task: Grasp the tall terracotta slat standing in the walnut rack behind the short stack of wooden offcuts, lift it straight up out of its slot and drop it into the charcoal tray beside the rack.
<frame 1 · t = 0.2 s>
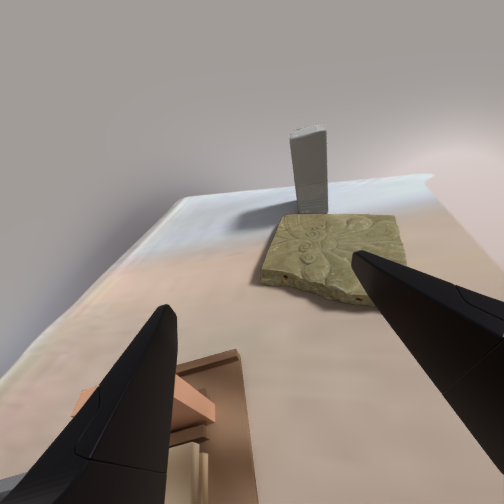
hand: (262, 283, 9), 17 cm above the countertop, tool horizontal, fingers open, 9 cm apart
slat: (185, 421, 19), point 1 cm above the countertop, touching rack
rack: (186, 466, 17), on the countertop
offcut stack: (184, 493, 16), resting on rack
skincare box: (311, 206, 46), on the countertop
decorative tile: (329, 258, 33), on the countertop
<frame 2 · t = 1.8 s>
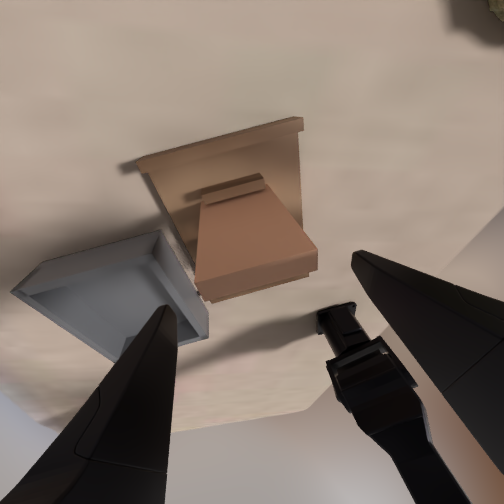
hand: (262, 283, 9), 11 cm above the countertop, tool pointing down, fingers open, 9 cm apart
tray: (140, 291, 23), on the countertop
slat: (236, 200, 18), point 1 cm above the countertop, touching rack
rack: (242, 224, 20), on the countertop
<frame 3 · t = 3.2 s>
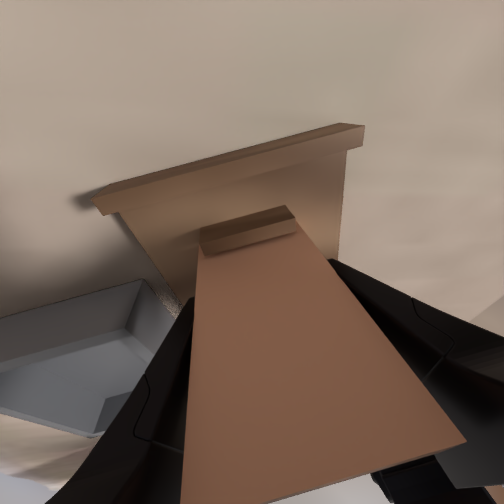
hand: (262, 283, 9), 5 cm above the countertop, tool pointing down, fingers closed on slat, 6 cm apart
tray: (121, 348, 18), on the countertop
slat: (249, 241, 12), point 1 cm above the countertop, touching gripper, rack
rack: (256, 267, 15), on the countertop
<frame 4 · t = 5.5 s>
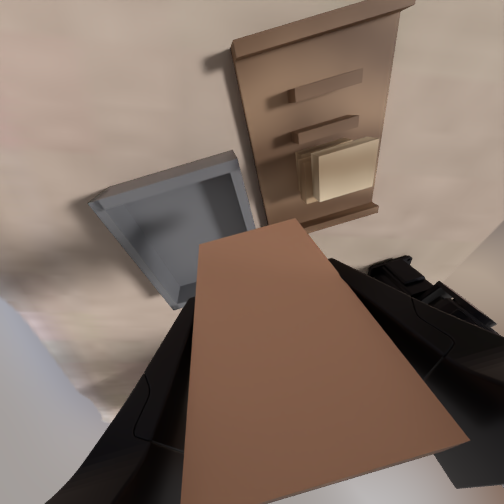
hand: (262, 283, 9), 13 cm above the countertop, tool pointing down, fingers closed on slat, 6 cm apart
tray: (200, 231, 22), on the countertop
slat: (249, 240, 12), point 9 cm above the countertop, touching gripper
rack: (315, 147, 19), on the countertop
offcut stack: (316, 163, 20), resting on rack
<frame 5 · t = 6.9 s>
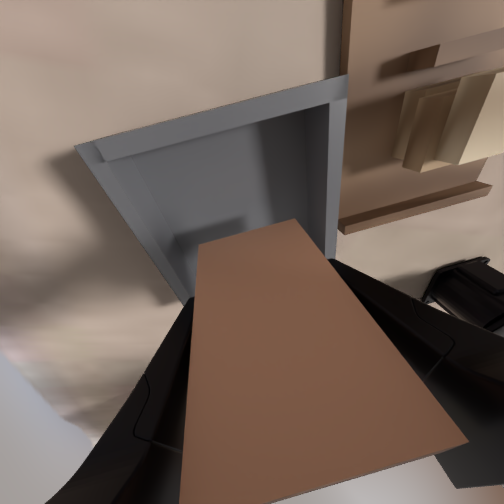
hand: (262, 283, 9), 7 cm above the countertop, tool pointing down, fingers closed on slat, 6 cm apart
tray: (240, 215, 15), on the countertop
slat: (249, 240, 12), point 4 cm above the countertop, touching gripper
rack: (428, 89, 12), on the countertop
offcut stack: (421, 117, 13), resting on rack
when the fingers open (6 cm above the countertop, at t = 8.0 s): slat drops 1 cm, resting on tray.
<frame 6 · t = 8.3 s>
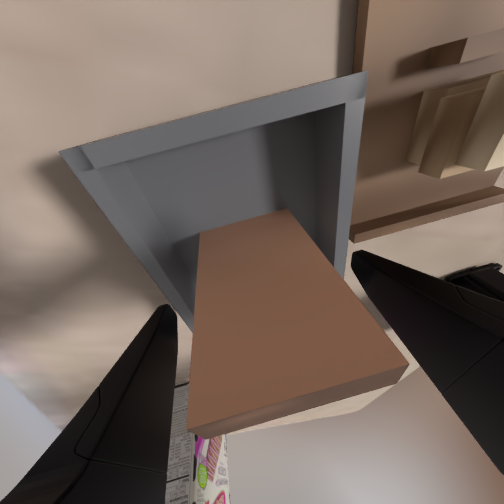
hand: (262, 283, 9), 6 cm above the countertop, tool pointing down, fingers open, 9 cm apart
tray: (243, 223, 14), on the countertop
slat: (246, 229, 13), point 1 cm above the countertop, touching tray
rack: (447, 88, 11), on the countertop
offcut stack: (438, 118, 12), resting on rack
candy bar box: (199, 394, 31), on the countertop
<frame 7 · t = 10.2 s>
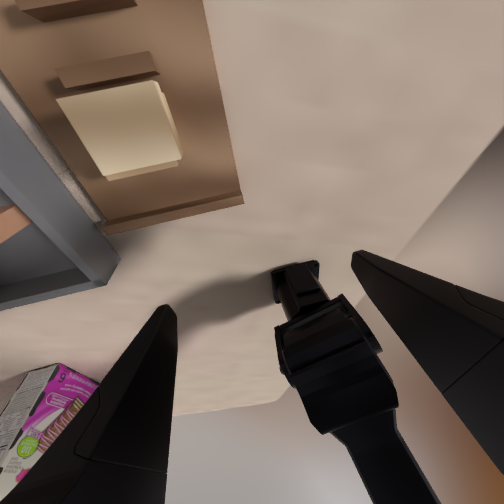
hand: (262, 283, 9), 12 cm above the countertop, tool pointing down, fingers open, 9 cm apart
tray: (2, 213, 16), on the countertop
rack: (134, 105, 14), on the countertop
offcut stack: (145, 130, 15), resting on rack
candy bar box: (73, 377, 32), on the countertop
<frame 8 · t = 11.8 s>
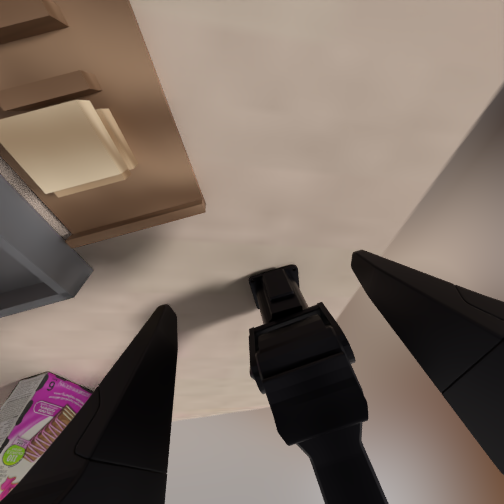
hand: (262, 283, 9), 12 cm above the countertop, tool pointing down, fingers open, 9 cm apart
rack: (84, 122, 14), on the countertop
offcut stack: (98, 145, 15), resting on rack
candy bar box: (65, 385, 33), on the countertop
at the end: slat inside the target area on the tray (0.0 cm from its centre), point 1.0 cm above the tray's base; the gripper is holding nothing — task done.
